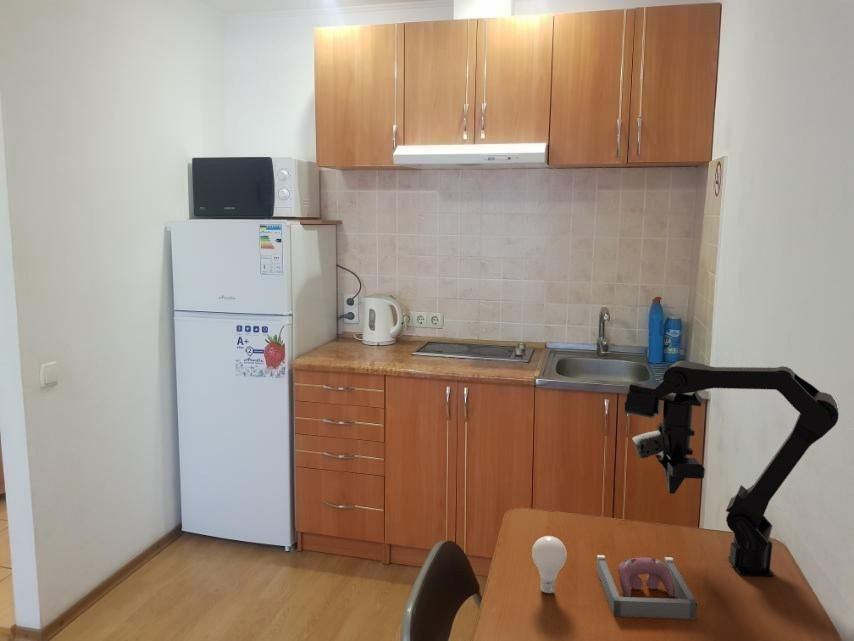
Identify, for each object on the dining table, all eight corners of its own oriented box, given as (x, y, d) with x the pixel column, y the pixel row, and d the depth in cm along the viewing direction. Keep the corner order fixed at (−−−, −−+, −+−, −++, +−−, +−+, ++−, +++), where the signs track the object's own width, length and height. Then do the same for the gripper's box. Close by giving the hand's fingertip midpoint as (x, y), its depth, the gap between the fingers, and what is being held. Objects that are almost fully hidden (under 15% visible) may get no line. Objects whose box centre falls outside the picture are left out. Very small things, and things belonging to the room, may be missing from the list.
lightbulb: (543, 578, 130) (545, 526, 128) (571, 592, 125) (574, 538, 123) (523, 591, 125) (525, 537, 124) (551, 606, 121) (554, 550, 119)
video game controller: (668, 594, 128) (663, 556, 130) (678, 597, 123) (673, 557, 125) (617, 596, 127) (613, 557, 129) (625, 599, 123) (621, 558, 125)
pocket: (670, 573, 132) (671, 557, 132) (696, 619, 118) (698, 601, 117) (596, 570, 133) (597, 555, 132) (613, 615, 118) (614, 598, 118)
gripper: (626, 407, 148) (622, 474, 150) (650, 437, 129) (644, 512, 132) (677, 408, 147) (672, 475, 150) (708, 438, 129) (702, 513, 131)
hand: (671, 492), depth 141 cm, fingers closed
